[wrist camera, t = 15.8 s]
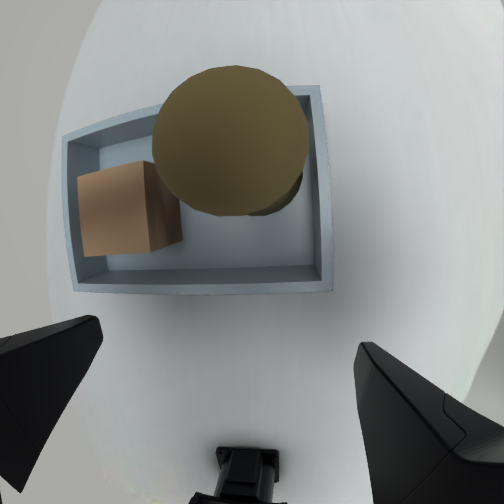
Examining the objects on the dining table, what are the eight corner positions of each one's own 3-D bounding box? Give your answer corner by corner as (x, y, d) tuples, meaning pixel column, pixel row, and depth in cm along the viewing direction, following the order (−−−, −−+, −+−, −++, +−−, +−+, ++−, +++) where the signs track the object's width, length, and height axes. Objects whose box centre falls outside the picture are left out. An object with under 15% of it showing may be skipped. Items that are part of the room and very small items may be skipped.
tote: (322, 270, 19) (332, 290, 14) (108, 275, 21) (73, 291, 17) (312, 111, 17) (319, 85, 13) (98, 144, 19) (62, 136, 15)
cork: (259, 235, 18) (222, 281, 8) (194, 175, 18) (92, 148, 7) (322, 169, 17) (373, 124, 6) (254, 110, 17) (218, 12, 6)
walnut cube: (183, 240, 19) (150, 252, 14) (124, 244, 20) (84, 256, 15) (177, 169, 18) (143, 160, 13) (119, 180, 19) (77, 176, 14)
